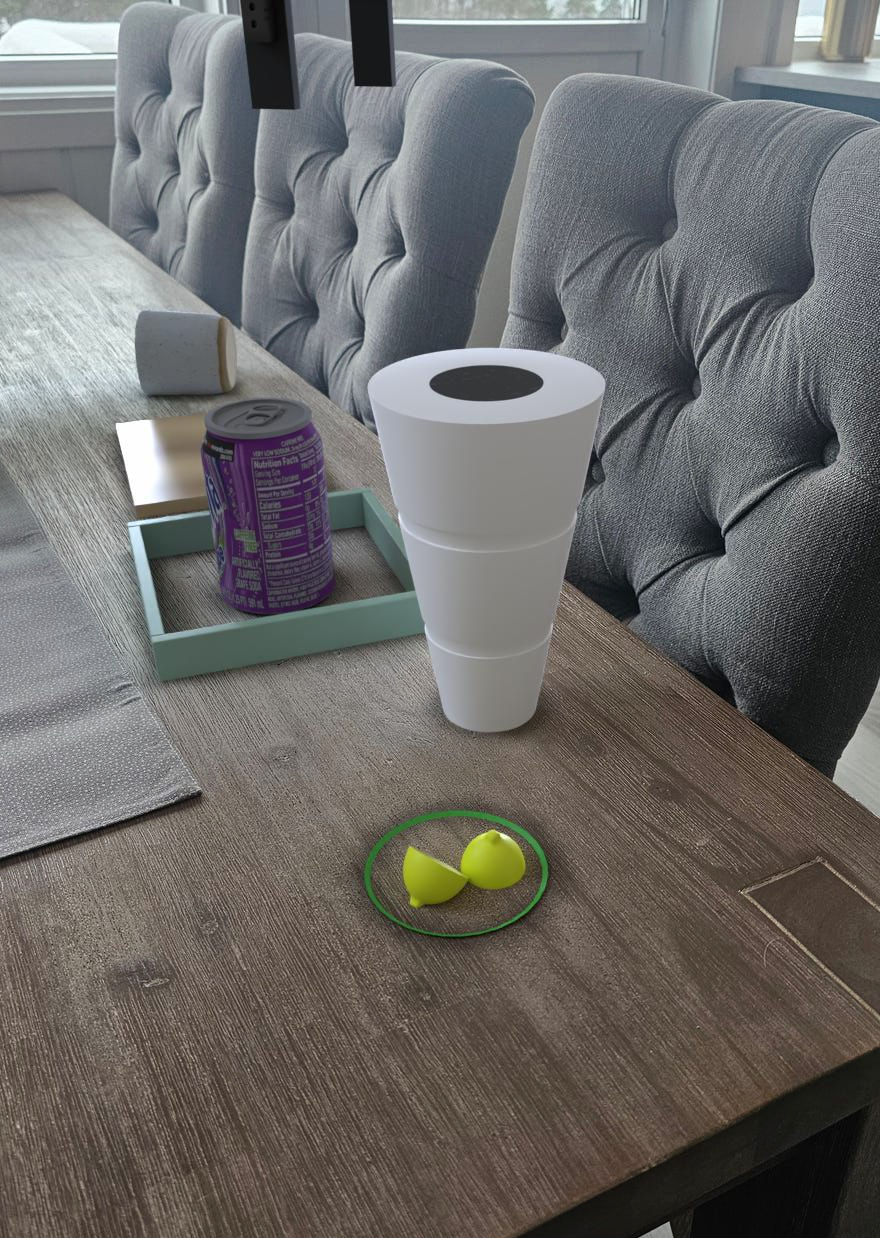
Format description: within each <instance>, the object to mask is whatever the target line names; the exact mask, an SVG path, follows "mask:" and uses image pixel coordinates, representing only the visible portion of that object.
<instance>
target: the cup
mask: <svg viewBox="0 0 880 1238" xmlns="http://www.w3.org/2000/svg"><path fill="white" fill-rule="evenodd" d="M605 391H606V380H605V378H604V377H603V375H602V374H601V373H600V372H599V370H596V369H595V368H594V367H592V366H591V365H589V364H587V363H585V362H582V361H581V360H577V359H575V358H571V357H568V356H565V355H560V354H556V353H551V352H547V351H546V352H545V351H539V350H534V349H533V350H532V349H523V348H522V349H521V348H510V347H509V348H508V347H472V348H471V347H470V348H461V349H460V348H458V349H448V350H441V351H435V352H429V353H423V354H419V355H415V356H411V357H407V358H404V359H402V360H398V361H396V362H393V363H391V364H389V365H386V366H384V367H383V368H381V369H380V370H378V371H377V372H375V373H374V374H373V375H372V376H371V378H370V379H369V381H368V383H367V392H368V397H369V401H370V406H371V410H372V414H373V419H374V423H375V427H376V432H377V435H378V439H379V444H380V448H381V453H382V457H383V461H384V466H385V469H386V474H387V478H388V483H389V486H390V490H391V491H390V492H391V495H392V500H393V503H394V505H395V507H396V509H397V510H398V513H397V517H398V518H397V519H398V524H399V527H400V528H399V529H400V531H401V533H402V536H403V540H404V545H405V549H406V553H407V557H408V561H409V565H410V569H411V574H412V578H413V582H414V586H415V590H416V594H417V598H418V603H419V607H420V611H421V615H422V618H423V620H424V622H425V633H424V634H425V637H426V642H427V647H428V651H429V655H430V659H431V663H432V667H433V668H432V669H433V672H434V676H435V680H436V685H437V689H438V694H439V698H440V702H441V706H442V707H441V708H442V710H443V714H444V715H445V717H446V718H447V719H448V720H449V721H450V722H451V723H452V724H454V725H456V726H457V727H459V728H462V729H465V730H468V731H472V732H476V733H477V732H478V733H499V732H507V731H510V730H514V729H516V728H518V727H521V726H522V725H525V723H527V722H528V721H530V720H531V719H532V717H534V714H535V713H536V710H537V706H538V705H537V704H538V700H539V696H540V691H541V686H542V682H543V676H544V672H545V667H546V663H547V657H548V653H549V650H550V649H549V648H550V644H551V639H552V634H553V630H554V629H553V628H554V624H553V621H554V619H555V618H556V614H557V609H558V605H559V601H560V596H561V591H562V586H563V583H564V578H565V573H566V569H567V564H568V561H569V556H570V552H571V548H572V547H571V546H572V542H573V538H574V533H575V530H576V529H575V528H576V525H577V520H578V510H577V509H578V507H579V506H580V504H581V501H582V498H583V493H584V488H585V483H586V480H587V474H588V470H589V466H590V460H591V455H592V451H593V446H594V442H595V437H596V432H597V428H598V423H599V419H600V414H601V409H602V405H603V399H604V396H605Z"/></svg>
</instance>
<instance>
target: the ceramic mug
mask: <svg viewBox="0 0 880 1238" xmlns="http://www.w3.org/2000/svg"><path fill="white" fill-rule="evenodd" d="M237 351H238V350H237V341H236V334H235V330H234V326H233V324H232V322H231V321H230V319H228V317H226V316H223V315H218V314H215V313H209V312H208V313H207V312H189V311H188V312H187V311H177V310H176V311H175V310H162V309H148V308H144V309H142V310H141V311H140V312H139V314H138V316H137V318H136V322H135V326H134V354H135V355H134V356H135V363H136V364H135V365H136V372H137V376H138V377H137V378H138V380H139V385H140V387H141V390H142V391H143V393H144V394H145V395H146V396H148V397H150V396H151V397H152V396H154V397H155V396H156V397H157V396H189V395H190V396H191V395H192V396H193V395H194V396H195V395H197V396H199V395H207V396H208V395H213V396H214V395H221V394H226V393H229V392H231V391H232V390H233V389H234V387H235V385H236V380H237V371H238V353H237Z"/></svg>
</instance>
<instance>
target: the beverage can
mask: <svg viewBox="0 0 880 1238" xmlns="http://www.w3.org/2000/svg"><path fill="white" fill-rule="evenodd" d="M206 413H207V414H206V415H205V417H204V423H205V427H206V432H205V435H204V438H203V441H202V444H201V459H202V465H203V472H204V479H205V486H206V492H207V499H208V506H209V508H208V511H209V512H210V519H211V526H212V532H213V539H214V546H215V549H214V551H215V559H216V565H217V571H218V579H219V584H220V585H219V586H220V591H221V592H220V593H221V596H222V598H223V600H224V601H225V602H226V603H227V604H228V605H230V606H231V607H232V608H235V609H237V610H239V611H243V612H247V613H252V614H259V615H278V614H284V613H290V612H296V611H301V610H306V609H309V608H310V607H312V606H315V605H317V604H318V603H320V602H322V601H324V600H325V599H327V598H328V597H329V596H330V595H331V594H332V592H333V591H334V589H335V586H336V579H335V567H334V566H335V565H334V555H333V543H332V533H331V532H332V531H330V521H329V510H328V499H327V493H328V491H327V488H326V478H327V477H325V476H326V468H325V467H326V466H325V457H324V455H325V454H324V445H323V440H322V436H321V434H320V433H319V431H318V429H317V428H316V426H315V425H314V423H313V421H312V419H313V412H312V409H311V407H310V406H309V405H308V404H306V403H304V402H302V401H299V400H295V399H291V398H285V397H275V396H274V397H272V396H271V397H270V396H269V397H268V396H267V397H265V396H263V397H251V398H249V397H248V398H242V399H238V400H232V401H229V402H225V403H223V404H220V405H217V406H215V407H213V408H212V409H210V410H208V411H207V412H206Z"/></svg>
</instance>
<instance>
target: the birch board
mask: <svg viewBox="0 0 880 1238" xmlns="http://www.w3.org/2000/svg"><path fill="white" fill-rule="evenodd" d="M207 413H208V412H202V413H192V414H185V415H175V416H168V417H159V418H153V419H144V420H136V421H135V420H134V421H128V422H119V423H115V424H114V425H115V429H116V430H115V431H116V435H117V436H116V437H117V439H118V444H119V448H120V452H121V457H122V461H123V465H124V469H125V470H124V471H125V474H126V478H127V483H128V487H129V491H130V496H131V499H132V504H133V509H134V512H135V517H136V520H137V519H145V518H153V517H157V516H158V517H160V516H166V515H173V514H177V513H179V514H180V513H187V512H192V511H199V510H200V511H201V510H206V509H209V506H208V499H207V492H206V486H205V479H204V472H203V465H202V459H201V444H202V441H203V438H204V435H205V432H206V427H205V423H204V417H205V415H206V414H207ZM325 477H326V475H325ZM326 488H327V492H328V491H329V487H328V478H327V477H326Z"/></svg>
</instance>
